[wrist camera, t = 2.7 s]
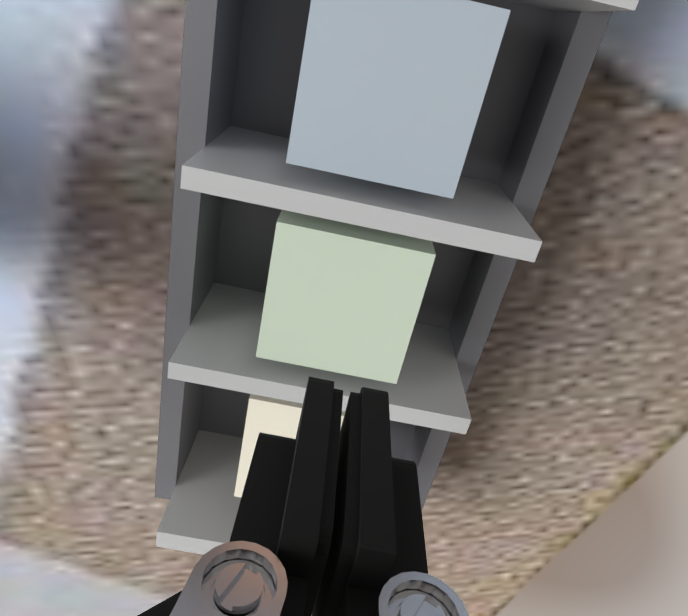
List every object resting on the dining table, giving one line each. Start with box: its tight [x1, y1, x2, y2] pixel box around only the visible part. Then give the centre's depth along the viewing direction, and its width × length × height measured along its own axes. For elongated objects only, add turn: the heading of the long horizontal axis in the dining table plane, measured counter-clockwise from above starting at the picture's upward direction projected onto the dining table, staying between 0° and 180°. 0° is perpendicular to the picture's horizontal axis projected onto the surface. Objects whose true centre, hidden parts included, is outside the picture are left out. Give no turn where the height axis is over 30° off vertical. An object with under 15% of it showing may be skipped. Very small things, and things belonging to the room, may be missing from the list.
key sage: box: [256, 210, 436, 384], centre depth 17 cm, size 4×4×3 cm
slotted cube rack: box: [155, 0, 639, 554], centre depth 17 cm, size 28×11×7 cm, turn 168°
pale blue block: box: [286, 0, 511, 199], centre depth 15 cm, size 4×4×3 cm
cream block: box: [234, 394, 345, 497], centre depth 20 cm, size 4×4×3 cm
